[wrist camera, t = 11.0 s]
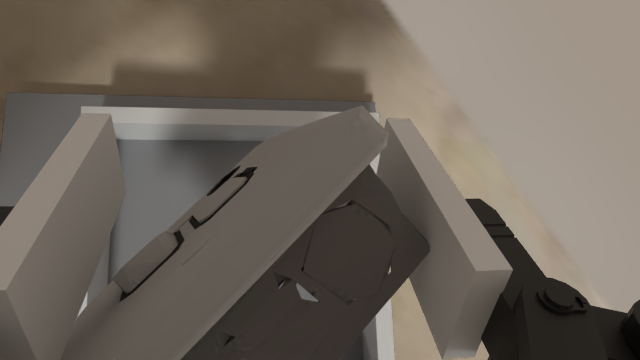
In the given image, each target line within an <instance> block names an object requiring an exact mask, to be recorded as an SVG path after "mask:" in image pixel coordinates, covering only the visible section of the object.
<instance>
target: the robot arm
mask: <svg viewBox="0 0 640 360" xmlns="http://www.w3.org/2000/svg"><path fill="white" fill-rule="evenodd" d="M385 130H386V131H387V132H388V133H389V134H388V141H387V146H386V147H385V148H384V149H383V150H382V151H381V152H380V157H379V163H378V168H377V174H376V175H377V176H378V177H379V178H380V179H381V181H382V182H383V183H384V184H385V185H386V186H387V187H388V188H389V190H390V191H391V192H392V194H393V196H394V198H395V200H396V202H397V204H398V206H399V208H400V210H401V212H402V213H403V214H404V215H405V216H406V217H407V219H408V220H409V221H410V222H411V223H412V224H413V226H414V227H415V228H416V229H417V230H418V231H419V232H420V234H421V235H422V236H423V237H424V238H425V239H426V240H427V243H428V244H429V245H430V252H429V253H428V254H427V256H426V257H425V258H424V259H423V260H422V262H421V263H420V264H419V265H418V266H417V267H416V269H415V270H414V271H413V272H412V273H411V274H410V276H409V279H410V281H411V284H412V286H413V288H414V291H415V293H416V296H417V298H418V301H419V303H420V306H421V308H422V311H423V313H424V316H425V318H426V320H427V323H428V325H429V328H430V330H431V333H432V335H433V338H434V340H435V343H436V345H437V348H438V350H439V352H440V355H441V357H442V359H452V358H466V357H474V356H475V354H476V351H477V349H478V347H479V345H480V342H481V340H482V341H483V343H484V345H485V347H486V349H487V351H488V353H489V355H490V356H489V358H488V360H640V300H639V301H637V302H636V303H634V305H633V306H632V308H631V309H630V310H629V312H628V313H623V312H619V311H614V310H609V309H605V308H600V307H595V306H591V305H590V304H589V303H588V301H587V299H586V298H585V297H583V296H582V295H581V294H580V293H579V292H578V291H577V290H576V289H574V288H572V287H571V286H569V285H568V284H566V283H564V282H561V281H558V280H556V279H553V278H547V277H546V276H545V275H544V274H543V272H542V271H541V270H540V268H539V267H538V266H537V264H536V263H535V262H534V260H533V259H532V258H531V256H530V255H529V254H528V252H527V251H526V250H525V249H524V247H523V246H522V245H521V243H520V242H519V241H518V239H517V238H514V234H513V233H512V231H511V230H510V229H509V227H506V223H505V222H504V221H503V219H502V218H501V217H500V215H499V214H498V213H497V211H496V210H494V209H493V208H492V207H490V206H489V205H488V204H486V203H485V202H483V201H482V200H481V199H464V197H463V196H462V194H461V193H460V191H459V190H458V188H457V187H456V185H455V184H454V183H453V181H452V180H451V178H450V177H449V175H448V174H447V172H446V171H445V169H444V168H443V166H442V165H441V164H440V162H439V161H438V159H437V158H436V156H435V155H434V153H433V152H432V150H431V149H430V147H429V146H428V145H427V143H426V142H425V140H424V139H423V137H422V136H421V134H420V133H419V131H418V130H417V128H416V127H415V126H414V124H413V123H412V121H411V120H410V119H395V118H387V119H386V124H385ZM125 195H126V188H125V183H124V178H123V172H122V167H121V162H120V157H119V152H118V147H117V142H116V136H115V131H114V126H113V121H112V116H111V114H102V113H82V114H81V116H80V117H79V118H78V120H77V121H76V123H75V124H74V125H73V127H72V128H71V129H70V131H69V132H68V134H67V135H66V136H65V138H64V139H63V141H62V142H61V143H60V145H59V146H58V147H57V149H56V150H55V152H54V153H53V154H52V156H51V157H50V158H49V160H48V161H47V163H46V164H45V165H44V167H43V168H42V170H41V171H40V172H39V174H38V175H37V176H36V178H35V179H34V181H33V182H32V183H31V185H30V186H29V187H28V189H27V190H26V192H25V193H24V194H23V196H22V197H21V199H20V200H19V201H18V203H17V204H16V205H15V206H0V360H60V359H61V357H62V354H63V352H64V349H65V347H66V344H67V342H68V339H69V337H70V334H71V331H72V329H73V326H74V324H75V321H76V319H77V316H78V314H79V311H80V309H81V306H82V304H83V301H84V299H85V296H86V294H87V291H88V288H89V286H90V283H91V281H92V278H93V276H94V273H95V271H96V268H97V266H98V263H99V261H100V258H101V256H102V253H103V251H104V248H105V245H106V243H107V240H108V238H109V235H110V233H111V230H112V228H113V225H114V223H115V220H116V218H117V215H118V213H119V210H120V208H121V205H122V202H123V200H124V197H125Z"/></svg>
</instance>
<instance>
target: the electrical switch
mask: <svg viewBox="0 0 640 360" xmlns="http://www.w3.org/2000/svg"><path fill="white" fill-rule="evenodd" d="M388 134H389V133H388V132H387V131H386V130H385V129H384V128H383V127H382V126H381V125H380V124H379V123H378V122H377V121H376V119H375V118H374V117H373V116H372V115H371V114H370V113H369V112H368V111H367V110H366V109H365V108H364V106H363V105H361V106H358V107H355V108H352V109H349V110H346V111H343V112H340V113H337V114H334V115H331V116H328V117H325V118H322V119H319V120H316V121H314V122H311V123H308V124H305V125H303V126H300V127H297V128H294V129H292V130H289V131H286V132H283V133H281V134H278V135H275V136H272V137H270V138H269V139H267V140H266V141H264V142H263V143H261V144H260V145H258V146H257V147H255V148H254V149H253V150H252V151H251V152H250V153H249V154H248V155H246V156H245V157H244V158H243V159H242V160H241V161H240V162H239V163H238V164H237V165H236V166H235V167H234V168H233V169H232V170H230V171H229V172H228V173H227V174H226V175H225V176H224V177H223V178H222V179H221V180H220V181H219V182H218V183H217V184H215V185H214V186H213V187H212V188H211V189H210V190H209V191H208V192H207V193H206V194H205V195H204V196H203V197H202V198H201V199H199V200H198V201H197V202H196V203H195V204H194V205H193V206H192V207H191V208H190V209H189V210H188V211H187V212H186V213H184V214H183V215H182V216H181V217H180V218H179V219H178V220H177V221H176V222H175V223H174V224H173V225H172V226H171V227H170V228H168V229H167V230H166V231H164V232H162V233H161V234H159V235H158V236H156V237H155V238H154V239H153V240H152V241H150V242H149V243H148V244H147V245H146V246H145V247H144V248H143V249H142V250H140V251H139V252H138V253H137V254H136V255H135V256H134V257H133V258H132V259H130V260H129V261H128V262H127V263H126V264H125V265H124V266H123V267H122V268H121V269H120V270H119V271H118V273H117V274H116V275H115V276H114V277H113V278H112V280H113V281H112V282H111V283H110V284H109V285H108V286H106V287H105V288H104V289H103V290H102V291H101V292H100V293H99V294H98V295H97V296H96V297H95V298H94V299H93V300H91V301H90V303H89V304H88V305H87V306H86V307H85V309H84V310H83V311H82V312H81V313H80V315H79V316H78V317H77V319H76V321H75V324H74V326H73V329H72V331H71V334H70V337H69V339H68V342H67V344H66V347H65V349H64V352H63V354H62V357H61V359H60V360H241V359H246V360H338V359H339V358H340V357H341V356H342V355H343V354H344V352H345V351H346V350H347V349H348V348H349V347H350V345H351V344H352V343H353V342H354V341H355V339H356V338H357V337H358V336H359V335H360V334H361V332H362V331H363V330H364V329H365V328H366V326H367V325H368V324H369V323H370V322H371V321H372V319H373V318H374V317H375V316H376V315H377V313H378V312H379V311H380V310H381V309H382V308H383V306H384V305H385V304H386V303H387V302H388V300H389V299H390V298H391V297H392V296H393V295H394V293H395V292H396V291H397V290H398V289H399V287H400V286H401V285H402V284H403V283H404V282H405V280H406V279H407V278H408V277H409V276H410V274H411V273H412V272H413V271H414V270H415V269H416V267H417V266H418V265H419V264H420V263H421V262H422V260H423V259H424V258H425V257H426V256H427V254H428V253H429V252H430V245H429V244H428V243H427V240H426V239H425V238H424V237H423V236H422V235H421V234H420V232H419V231H418V230H417V229H416V228H415V227H414V226H413V224H412V223H411V222H410V221H409V220H408V219H407V217H406V216H405V215H404V214H403V213H402V212H401V210H400V208H399V206H398V204H397V202H396V200H395V198H394V196H393V194H392V192H391V191H390V190H389V188H388V187H387V186H386V185H385V184H384V183H383V182H382V181H381V179H380V178H379V177H378V176H377V175H376V173H375V172H374V170H373V169H372V167H371V166H370V163H371V162H372V161H373V160H374V159H375V158H376V157H377V155H378V154H379V153H380V152H381V151H382V150H383V149H384V148H385V147H386V146H387V141H388ZM390 266H391V272H390V273H389V274H388V272H389V268H390ZM284 281H285V282H284ZM283 282H284V283H283ZM282 283H283V285H282V286H281V287H280V285H281V284H282ZM297 283H298V284H299V285H300V286H301V287H303V288H304V289H305V290H306V291H307V292H309V293H310V294H311V295H312V296H313V297H314V298H316V299H317V300H318V302H316V301H310V300H305V299H302V298H301V296H300V294H299V291H298V289H297V287H296V284H297ZM279 287H280V289H279ZM354 299H356V300H354Z"/></svg>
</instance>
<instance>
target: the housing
mask: <svg viewBox="0 0 640 360" xmlns="http://www.w3.org/2000/svg"><path fill="white" fill-rule="evenodd" d="M361 105H363V106H364V108H365V109H366V110H367V111H368V112H369V113H370V114H371V115H372V116H373V117H374V118H375V119H376V121H377V122H378V123H379V124H380V122H379V113H376V110H375V102H360V101H322V100H283V99H245V98H206V97H168V96H129V95H91V94H52V93H14V92H7V95H6V105H5V114H4V123H3V133H2V142H1V152H0V206H15V205H16V204H17V203H18V201H19V200H20V199H21V197H22V196H23V194H24V193H25V192H26V190H27V189H28V187H29V186H30V185H31V183H32V182H33V181H34V179H35V178H36V176H37V175H38V174H39V172H40V171H41V170H42V168H43V167H44V165H45V164H46V163H47V161H48V160H49V158H50V157H51V156H52V154H53V153H54V152H55V150H56V149H57V147H58V146H59V145H60V143H61V142H62V141H63V139H64V138H65V136H66V135H67V134H68V132H69V131H70V129H71V128H72V127H73V125H74V124H75V123H76V121H77V120H78V118H79V117H80V116H81V114H82V113H102V114H111V116H112V121H113V126H114V131H115V136H116V142H117V147H118V152H119V157H120V162H121V167H122V172H123V178H124V183H125V188H126V195H125V197H124V200H123V202H122V205H121V208H120V210H119V213H118V215H117V218H116V220H115V223H114V225H113V228H112V230H111V233H110V235H109V238H108V240H107V243H106V245H105V248H104V251H103V253H102V256H101V258H100V261H99V263H98V266H97V268H96V271H95V273H94V276H93V278H92V281H91V283H90V286H89V288H88V291H87V294H86V296H85V299H84V301H83V304H82V306H81V309H80V311H79V314H78V316H79V315H80V313H81V312H82V311H83V310H84V309H85V307H86V306H87V305H88V304H89V303H90V301H91V300H93V299H94V298H95V297H96V296H97V295H98V294H99V293H100V292H101V291H102V290H103V289H104V288H105V287H106V286H108V285H109V284H110V283H111V282H112V281H113V280H112V278H113V277H114V276H115V275H116V274H117V273H118V271H119V270H120V269H121V268H122V267H123V266H124V265H125V264H126V263H127V262H128V261H129V260H130V259H132V258H133V257H134V256H135V255H136V254H137V253H138V252H139V251H140V250H142V249H143V248H144V247H145V246H146V245H147V244H148V243H149V242H150V241H152V240H153V239H154V238H155V237H156V236H158V235H159V234H161V233H162V232H164V231H166V230H167V229H168V228H170V227H171V226H172V225H173V224H174V223H175V222H176V221H177V220H178V219H179V218H180V217H181V216H182V215H183V214H184V213H186V212H187V211H188V210H189V209H190V208H191V207H192V206H193V205H194V204H195V203H196V202H197V201H198V200H199V199H201V198H202V197H203V196H204V195H205V194H206V193H207V192H208V191H209V190H210V189H211V188H212V187H213V186H214V185H215V184H217V183H218V182H219V181H220V180H221V179H222V178H223V177H224V176H225V175H226V174H227V173H228V172H229V171H230V170H232V169H233V168H234V167H235V166H236V165H237V164H238V163H239V162H240V161H241V160H242V159H243V158H244V157H245V156H246V155H248V154H249V153H250V152H251V151H252V150H253V149H254V148H255V147H257V146H258V145H260V144H261V143H263V142H264V141H266V140H267V139H269V138H270V137H272V136H275V135H278V134H281V133H283V132H286V131H289V130H292V129H294V128H297V127H300V126H303V125H305V124H308V123H311V122H314V121H316V120H319V119H322V118H325V117H328V116H331V115H334V114H337V113H340V112H343V111H346V110H349V109H352V108H355V107H358V106H361ZM379 157H380V153H379V154H378V155H377V157H376V158H375V159H374V160H373V161H372V162H371V163H370V166H371V167H372V169H373V170H374V172H375V173H376V174H377V168H378V163H379ZM388 274H389V272H388ZM284 282H285V281H284ZM284 282H283V283H284ZM283 283H282V284H281V285H280V287H281V286H282V285H283ZM280 287H279V289H280ZM296 287H297V289H298V291H299V294H300V296H301V298H302V299H305V300H310V301H316V302H318V300H317V299H316V298H314V297H313V296H312V295H311V294H310V293H309V292H307V291H306V290H305V289H304V288H303V287H301V286H300V285H299V284H298V283H297V284H296ZM354 300H356V299H354ZM78 316H77V317H78ZM241 360H246V359H241ZM338 360H395V359H394V343H393V327H392V311H391V298H390V299H389V300H388V302H387V303H386V304H385V305H384V306H383V308H382V309H381V310H380V311H379V312H378V313H377V315H376V316H375V317H374V318H373V319H372V321H371V322H370V323H369V324H368V325H367V326H366V328H365V329H364V330H363V331H362V332H361V334H360V335H359V336H358V337H357V338H356V339H355V341H354V342H353V343H352V344H351V345H350V347H349V348H348V349H347V350H346V351H345V352H344V354H343V355H342V356H341V357H340V358H339V359H338Z"/></svg>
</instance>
